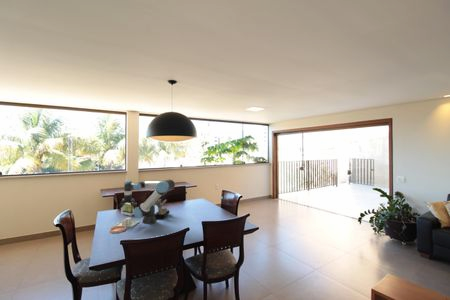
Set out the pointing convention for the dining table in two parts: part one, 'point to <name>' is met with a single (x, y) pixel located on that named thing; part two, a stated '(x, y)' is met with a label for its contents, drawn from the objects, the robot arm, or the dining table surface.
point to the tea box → (128, 209)
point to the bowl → (117, 229)
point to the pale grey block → (124, 222)
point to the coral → (161, 209)
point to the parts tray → (128, 224)
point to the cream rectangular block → (128, 220)
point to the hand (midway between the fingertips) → (127, 213)
